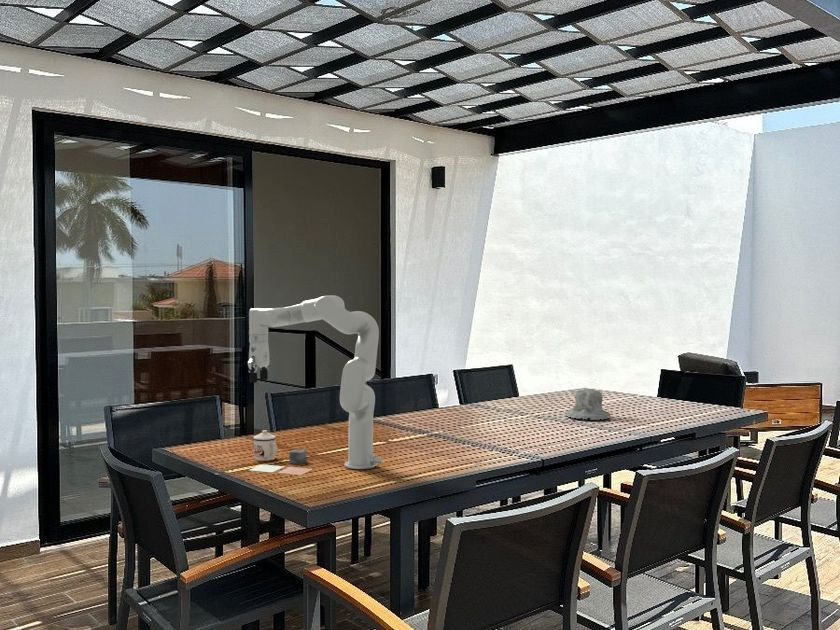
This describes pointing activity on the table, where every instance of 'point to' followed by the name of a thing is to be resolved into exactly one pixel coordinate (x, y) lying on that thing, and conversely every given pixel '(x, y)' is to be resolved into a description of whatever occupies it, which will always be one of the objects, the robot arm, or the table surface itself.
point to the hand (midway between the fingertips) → (258, 380)
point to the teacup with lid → (264, 446)
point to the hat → (588, 406)
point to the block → (297, 456)
